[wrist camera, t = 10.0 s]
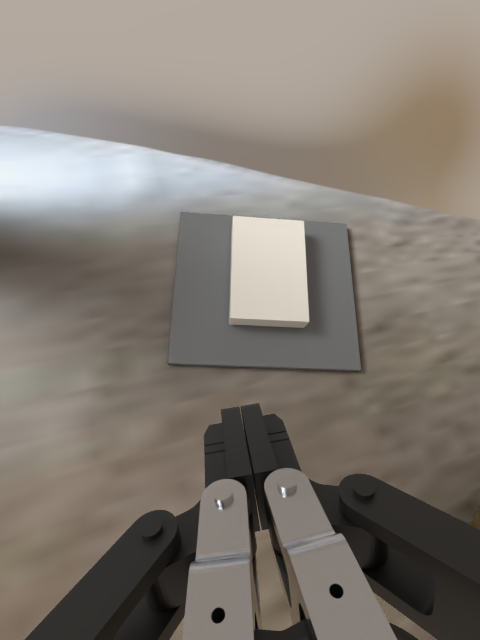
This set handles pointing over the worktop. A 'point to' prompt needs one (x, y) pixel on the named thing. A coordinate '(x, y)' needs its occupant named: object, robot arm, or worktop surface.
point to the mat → (261, 341)
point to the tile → (268, 273)
